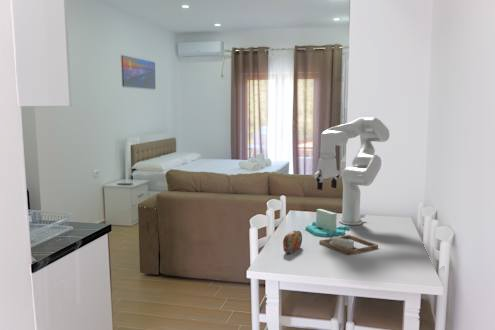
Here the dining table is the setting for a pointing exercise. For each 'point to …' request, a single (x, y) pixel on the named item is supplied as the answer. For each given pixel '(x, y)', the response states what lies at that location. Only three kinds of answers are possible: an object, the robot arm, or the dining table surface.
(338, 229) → the alien figure
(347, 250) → the pine offcut
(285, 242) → the tin
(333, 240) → the grey offcut
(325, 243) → the rack
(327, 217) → the sage panel
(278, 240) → the dining table surface
